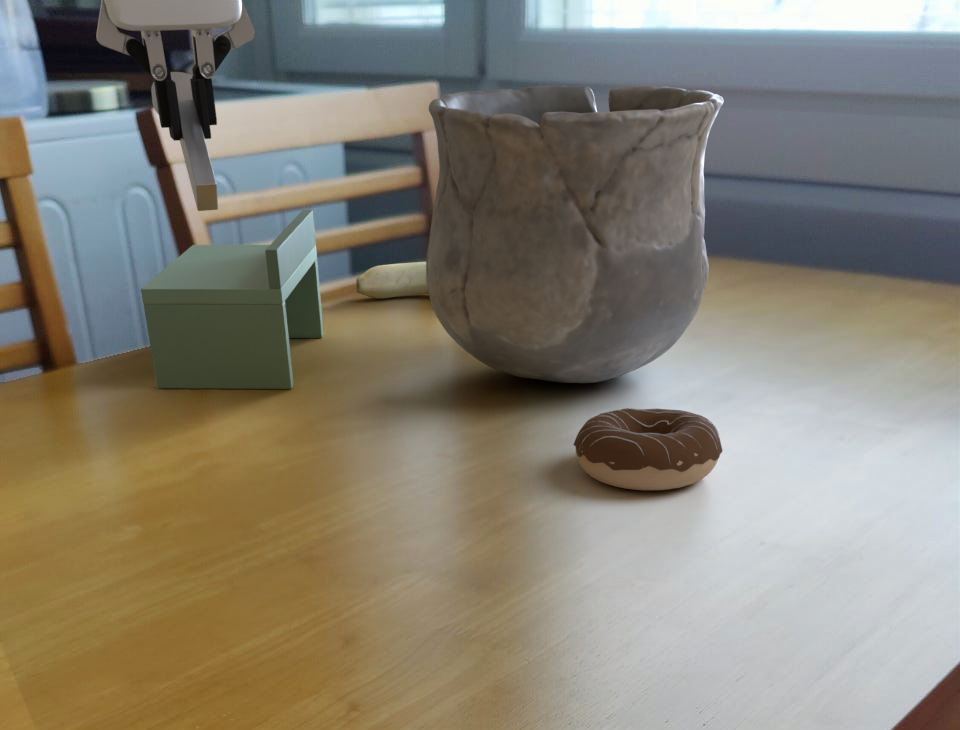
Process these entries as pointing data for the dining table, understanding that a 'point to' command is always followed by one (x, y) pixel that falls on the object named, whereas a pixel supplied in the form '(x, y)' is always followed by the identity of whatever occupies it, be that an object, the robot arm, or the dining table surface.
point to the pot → (569, 226)
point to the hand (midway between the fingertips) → (190, 135)
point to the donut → (648, 448)
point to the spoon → (193, 145)
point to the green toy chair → (235, 312)
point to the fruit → (393, 280)
